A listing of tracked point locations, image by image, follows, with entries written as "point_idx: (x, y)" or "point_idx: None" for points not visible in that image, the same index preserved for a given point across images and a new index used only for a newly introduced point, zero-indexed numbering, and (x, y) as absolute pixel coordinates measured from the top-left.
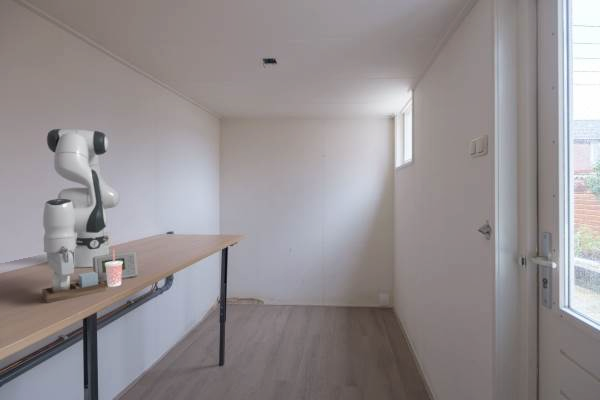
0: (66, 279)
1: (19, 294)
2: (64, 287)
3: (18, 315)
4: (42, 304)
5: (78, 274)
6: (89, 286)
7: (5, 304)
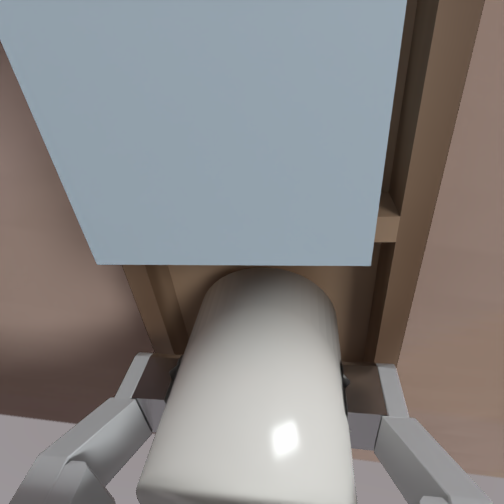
0: (438, 449)
1: (62, 394)
2: (338, 344)
3: (474, 450)
4: None
5: (109, 263)
6: (458, 103)
7: None
